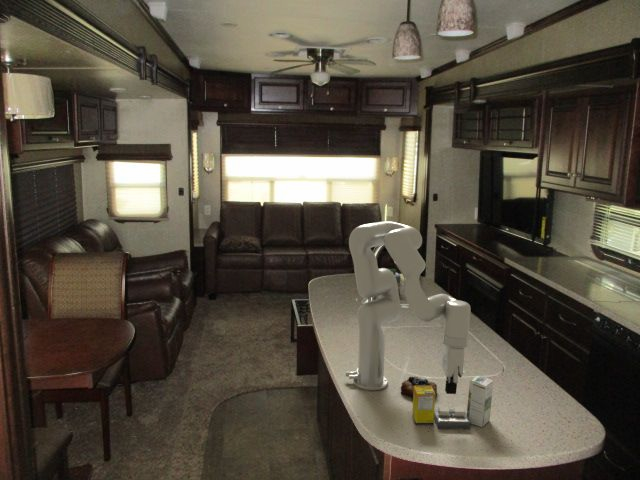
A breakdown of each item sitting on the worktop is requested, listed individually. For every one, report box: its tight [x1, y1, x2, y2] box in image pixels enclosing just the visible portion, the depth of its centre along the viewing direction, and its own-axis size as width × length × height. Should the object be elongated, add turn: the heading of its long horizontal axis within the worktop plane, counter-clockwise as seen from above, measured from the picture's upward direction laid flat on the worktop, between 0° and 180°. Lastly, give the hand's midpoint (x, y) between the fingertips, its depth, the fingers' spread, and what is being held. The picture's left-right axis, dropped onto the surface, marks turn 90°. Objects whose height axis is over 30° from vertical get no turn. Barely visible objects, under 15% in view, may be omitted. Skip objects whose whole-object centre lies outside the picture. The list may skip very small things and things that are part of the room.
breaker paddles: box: [437, 406, 466, 416], centre depth 178 cm, size 8×2×2 cm, turn 89°
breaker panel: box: [434, 408, 471, 430], centre depth 178 cm, size 10×8×3 cm
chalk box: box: [388, 268, 401, 297], centre depth 317 cm, size 9×9×15 cm
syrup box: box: [466, 375, 494, 428], centre depth 178 cm, size 6×6×14 cm
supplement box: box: [411, 386, 436, 426], centre depth 178 cm, size 6×6×11 cm
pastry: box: [400, 375, 438, 399], centre depth 197 cm, size 11×12×6 cm
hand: (450, 392), depth 178 cm, fingers closed
